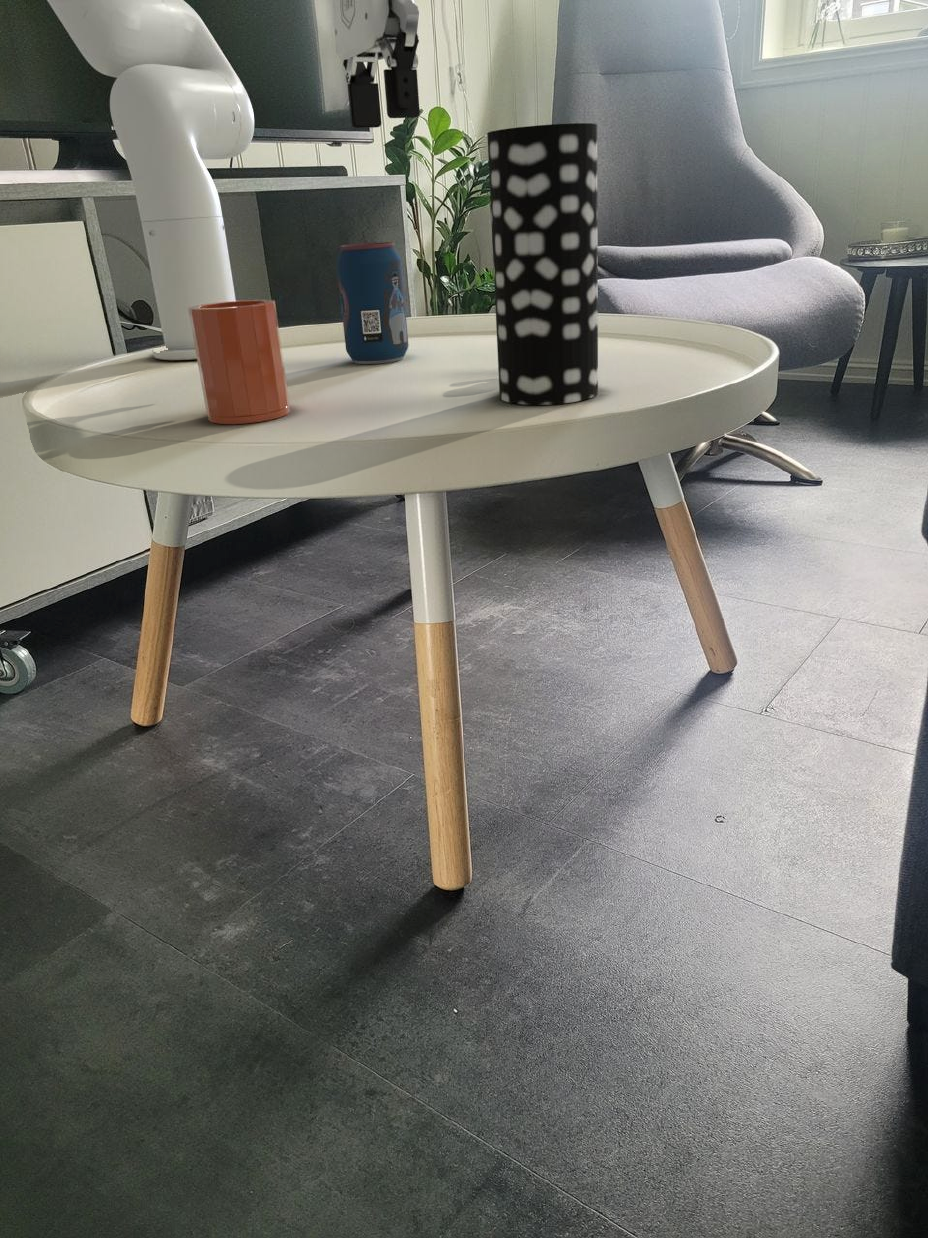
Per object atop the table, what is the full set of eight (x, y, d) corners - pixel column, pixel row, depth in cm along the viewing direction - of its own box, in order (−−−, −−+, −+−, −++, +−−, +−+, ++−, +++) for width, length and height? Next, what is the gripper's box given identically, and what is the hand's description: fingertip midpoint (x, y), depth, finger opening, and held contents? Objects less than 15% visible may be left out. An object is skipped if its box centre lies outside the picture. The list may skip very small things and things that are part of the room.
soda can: (352, 357, 106) (339, 244, 101) (412, 353, 105) (402, 240, 100) (343, 366, 99) (329, 247, 94) (406, 362, 99) (396, 242, 94)
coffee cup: (200, 415, 79) (181, 305, 76) (276, 403, 82) (261, 297, 78) (219, 428, 74) (198, 311, 70) (300, 415, 76) (284, 302, 73)
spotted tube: (527, 409, 73) (517, 125, 65) (483, 394, 80) (469, 136, 72) (617, 395, 76) (618, 121, 68) (567, 381, 83) (563, 132, 75)
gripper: (300, -64, 91) (321, 131, 98) (363, -119, 77) (382, 114, 84) (370, -60, 94) (386, 129, 101) (443, -112, 80) (455, 112, 87)
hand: (384, 122), depth 92 cm, fingers open, 9 cm apart
